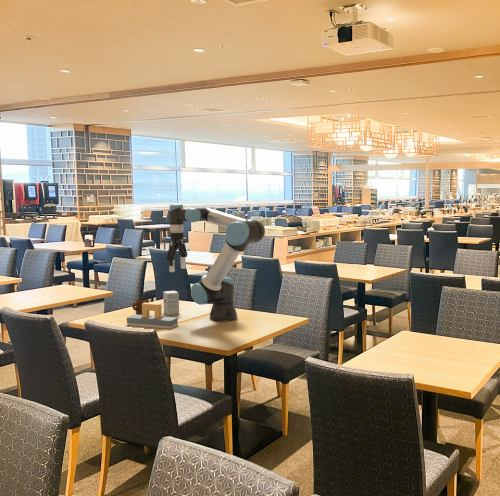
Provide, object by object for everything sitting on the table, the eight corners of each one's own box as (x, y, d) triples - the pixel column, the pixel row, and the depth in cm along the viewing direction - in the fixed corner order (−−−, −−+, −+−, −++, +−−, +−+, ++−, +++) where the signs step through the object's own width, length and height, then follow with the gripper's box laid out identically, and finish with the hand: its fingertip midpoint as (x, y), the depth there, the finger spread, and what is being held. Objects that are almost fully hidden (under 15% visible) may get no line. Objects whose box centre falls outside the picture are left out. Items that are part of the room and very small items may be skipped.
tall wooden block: (161, 323, 301) (161, 303, 300) (159, 324, 299) (158, 304, 298) (145, 321, 305) (144, 302, 304) (142, 323, 302) (141, 303, 301)
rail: (177, 325, 301) (177, 317, 301) (170, 328, 294) (170, 320, 293) (135, 321, 310) (134, 314, 310) (127, 324, 303) (126, 317, 302)
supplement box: (163, 312, 332) (162, 291, 331) (175, 311, 335) (175, 290, 334) (167, 315, 325) (166, 293, 324) (179, 313, 328) (179, 292, 327)
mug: (138, 319, 316) (138, 302, 315) (127, 318, 319) (127, 301, 318) (152, 315, 326) (151, 299, 325) (141, 313, 330) (141, 297, 329)
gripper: (180, 230, 328) (181, 267, 330) (159, 233, 304) (160, 273, 307) (192, 230, 325) (193, 267, 327) (172, 233, 302) (173, 273, 304)
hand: (177, 270), depth 317 cm, fingers open, 13 cm apart
